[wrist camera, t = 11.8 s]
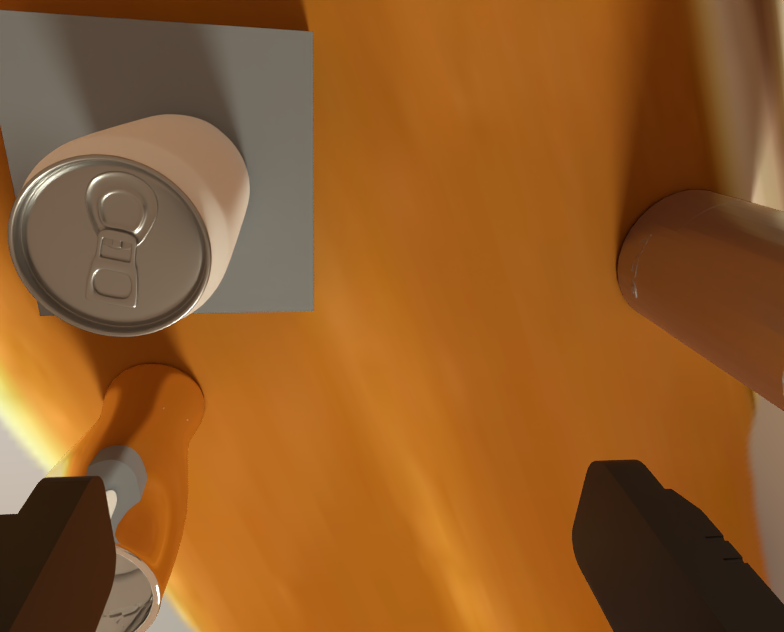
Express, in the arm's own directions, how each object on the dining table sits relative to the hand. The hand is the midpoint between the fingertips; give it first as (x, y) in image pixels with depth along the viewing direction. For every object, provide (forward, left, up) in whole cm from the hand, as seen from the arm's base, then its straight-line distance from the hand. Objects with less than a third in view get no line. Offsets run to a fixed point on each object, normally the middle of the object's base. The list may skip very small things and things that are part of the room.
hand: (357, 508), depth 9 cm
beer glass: (+10, +13, -26) cm, 31 cm away
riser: (+7, -2, -26) cm, 27 cm away
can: (+6, -2, -22) cm, 23 cm away
